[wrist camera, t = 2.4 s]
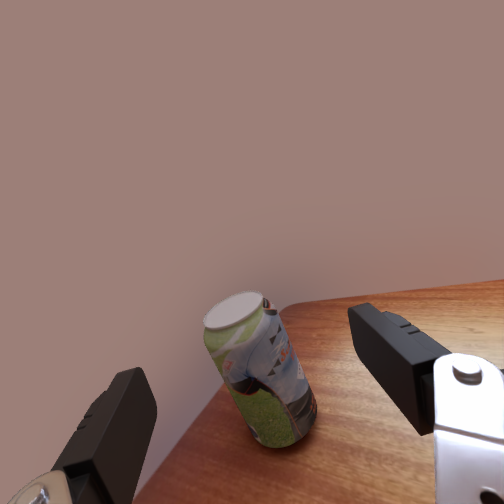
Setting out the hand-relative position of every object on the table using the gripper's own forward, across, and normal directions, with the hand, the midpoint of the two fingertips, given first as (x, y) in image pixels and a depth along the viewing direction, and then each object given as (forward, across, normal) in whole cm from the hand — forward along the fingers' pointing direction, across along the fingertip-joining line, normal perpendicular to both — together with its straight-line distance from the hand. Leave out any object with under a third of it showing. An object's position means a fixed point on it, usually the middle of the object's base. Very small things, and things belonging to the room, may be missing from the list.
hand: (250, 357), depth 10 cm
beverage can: (+10, 0, +14) cm, 18 cm away
